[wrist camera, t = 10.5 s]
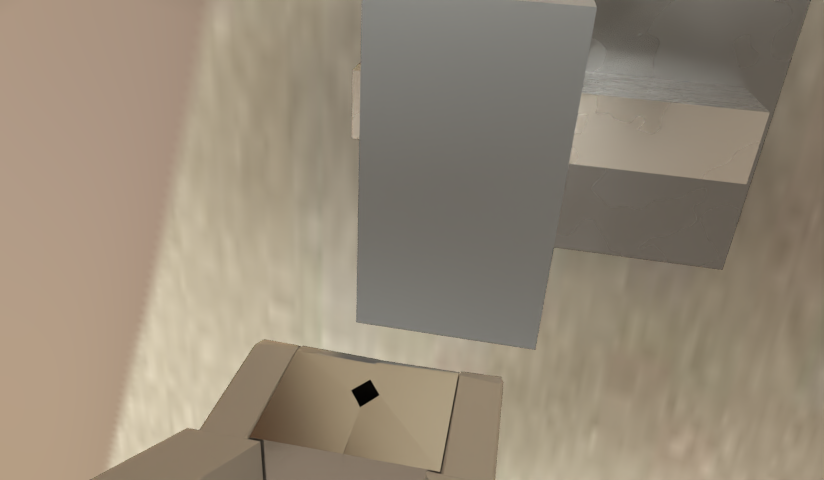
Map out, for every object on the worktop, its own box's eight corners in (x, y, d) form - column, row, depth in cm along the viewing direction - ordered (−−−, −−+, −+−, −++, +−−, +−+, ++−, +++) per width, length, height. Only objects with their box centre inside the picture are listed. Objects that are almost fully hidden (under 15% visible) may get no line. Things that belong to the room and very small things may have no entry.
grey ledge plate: (817, -65, 18) (872, -56, 15) (715, 255, 23) (741, 311, 20) (384, -94, 19) (354, -91, 16) (375, 210, 24) (350, 256, 21)
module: (585, -60, 18) (604, -34, 12) (538, 223, 22) (535, 349, 16) (423, -71, 19) (362, -52, 12) (407, 206, 23) (356, 322, 17)
